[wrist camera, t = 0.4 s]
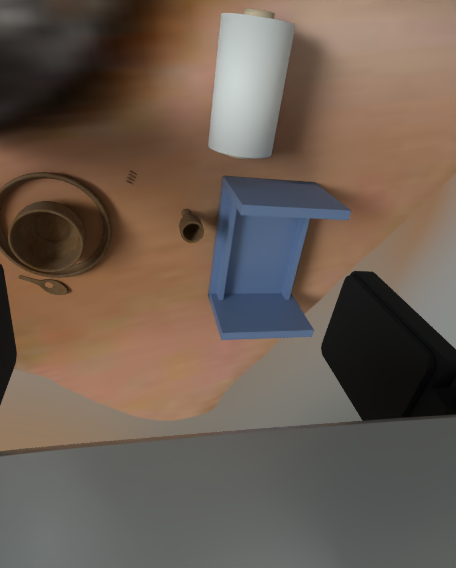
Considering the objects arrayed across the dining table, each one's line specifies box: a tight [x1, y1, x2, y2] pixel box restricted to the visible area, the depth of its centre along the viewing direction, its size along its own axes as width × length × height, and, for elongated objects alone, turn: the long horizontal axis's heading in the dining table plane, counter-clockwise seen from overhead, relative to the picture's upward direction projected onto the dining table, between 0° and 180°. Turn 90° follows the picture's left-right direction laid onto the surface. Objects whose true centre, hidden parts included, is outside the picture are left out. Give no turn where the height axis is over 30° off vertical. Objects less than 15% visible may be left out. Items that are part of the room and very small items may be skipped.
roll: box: [208, 8, 295, 159], centre depth 36 cm, size 12×6×6 cm, turn 172°
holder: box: [208, 176, 351, 340], centre depth 44 cm, size 16×11×9 cm
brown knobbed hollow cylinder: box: [0, 171, 204, 295], centre depth 41 cm, size 18×20×6 cm
